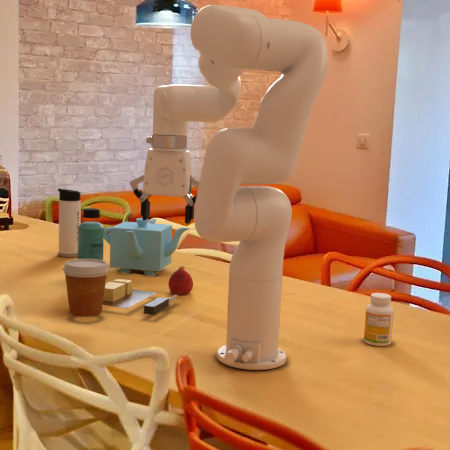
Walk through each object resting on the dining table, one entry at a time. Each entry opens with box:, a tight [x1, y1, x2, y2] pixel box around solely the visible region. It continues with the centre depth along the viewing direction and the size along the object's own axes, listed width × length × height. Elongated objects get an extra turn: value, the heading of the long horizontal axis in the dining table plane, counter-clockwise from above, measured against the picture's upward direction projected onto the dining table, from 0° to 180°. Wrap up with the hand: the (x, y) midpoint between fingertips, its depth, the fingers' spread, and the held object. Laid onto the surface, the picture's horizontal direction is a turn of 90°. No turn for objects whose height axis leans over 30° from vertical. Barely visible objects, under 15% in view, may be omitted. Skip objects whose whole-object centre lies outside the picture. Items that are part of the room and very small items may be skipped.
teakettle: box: [103, 217, 191, 277], centre depth 203 cm, size 19×19×15 cm
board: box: [102, 288, 158, 309], centre depth 170 cm, size 16×12×2 cm
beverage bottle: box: [76, 207, 105, 261], centre depth 180 cm, size 6×7×20 cm
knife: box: [143, 294, 178, 316], centre depth 164 cm, size 15×2×3 cm, turn 161°
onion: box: [167, 265, 194, 296], centre depth 176 cm, size 6×6×8 cm
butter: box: [103, 281, 125, 302], centre depth 168 cm, size 6×4×3 cm, turn 161°
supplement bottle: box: [363, 292, 394, 347], centre depth 148 cm, size 5×5×10 cm
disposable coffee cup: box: [62, 258, 110, 317], centre depth 156 cm, size 10×10×12 cm
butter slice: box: [111, 278, 133, 295], centre depth 173 cm, size 2×4×3 cm, turn 71°
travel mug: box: [57, 188, 82, 258], centre depth 220 cm, size 6×7×20 cm
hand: (166, 221), depth 164 cm, fingers open, 9 cm apart
